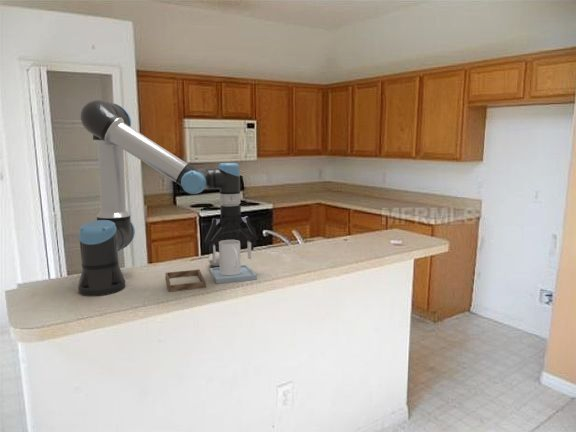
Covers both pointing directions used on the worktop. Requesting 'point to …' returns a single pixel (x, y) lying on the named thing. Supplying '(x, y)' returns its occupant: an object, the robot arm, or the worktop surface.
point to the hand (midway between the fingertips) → (232, 260)
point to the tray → (243, 276)
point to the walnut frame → (186, 285)
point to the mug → (229, 257)
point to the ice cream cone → (212, 259)
